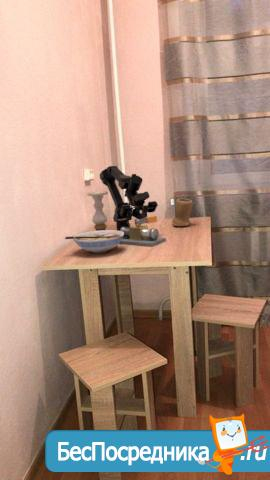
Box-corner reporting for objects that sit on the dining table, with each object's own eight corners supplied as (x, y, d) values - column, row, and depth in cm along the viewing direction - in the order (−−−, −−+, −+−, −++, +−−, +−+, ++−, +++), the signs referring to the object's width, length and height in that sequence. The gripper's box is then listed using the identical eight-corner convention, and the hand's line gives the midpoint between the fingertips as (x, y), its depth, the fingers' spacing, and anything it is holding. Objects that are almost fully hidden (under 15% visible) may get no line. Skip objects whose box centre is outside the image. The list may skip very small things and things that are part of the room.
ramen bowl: (133, 244, 196) (131, 227, 195) (120, 257, 175) (119, 238, 173) (82, 245, 202) (80, 229, 201) (63, 258, 180) (61, 239, 179)
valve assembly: (113, 243, 202) (111, 225, 201) (127, 238, 212) (126, 221, 210) (152, 246, 190) (151, 228, 188) (165, 241, 200) (164, 223, 198)
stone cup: (194, 227, 230) (193, 199, 226) (172, 228, 231) (170, 200, 228) (192, 222, 244) (191, 196, 241) (172, 223, 245) (170, 197, 242)
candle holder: (109, 237, 218) (105, 190, 214) (115, 240, 208) (111, 192, 203) (88, 239, 215) (84, 192, 210) (93, 243, 205) (88, 194, 200)
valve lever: (137, 225, 197) (137, 219, 197) (133, 225, 200) (133, 219, 199) (157, 221, 204) (157, 216, 203) (153, 221, 206) (153, 215, 206)
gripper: (120, 188, 200) (132, 214, 193) (154, 184, 208) (167, 209, 201) (115, 203, 209) (126, 228, 202) (148, 199, 217) (160, 223, 210)
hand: (145, 222), depth 203 cm, fingers closed
